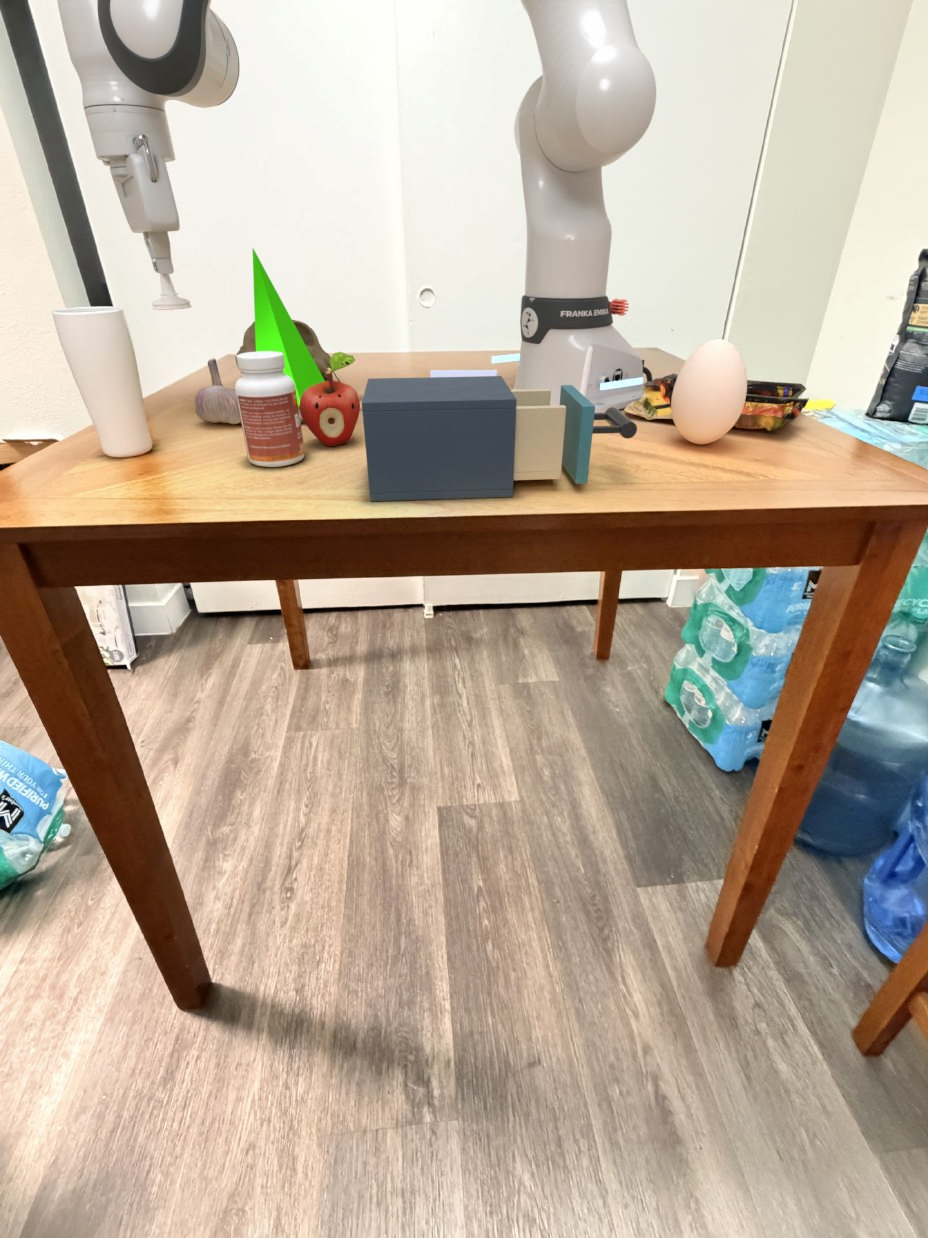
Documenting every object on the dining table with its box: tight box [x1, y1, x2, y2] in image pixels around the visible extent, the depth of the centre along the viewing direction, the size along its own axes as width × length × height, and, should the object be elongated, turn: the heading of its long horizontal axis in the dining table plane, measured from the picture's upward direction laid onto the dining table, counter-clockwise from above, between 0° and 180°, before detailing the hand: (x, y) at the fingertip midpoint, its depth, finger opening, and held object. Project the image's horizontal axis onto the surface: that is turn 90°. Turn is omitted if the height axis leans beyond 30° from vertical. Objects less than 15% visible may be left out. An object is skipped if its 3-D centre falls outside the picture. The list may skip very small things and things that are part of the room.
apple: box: [299, 351, 361, 447], centre depth 73 cm, size 8×7×10 cm
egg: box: [671, 338, 748, 445], centre depth 71 cm, size 8×8×11 cm
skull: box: [234, 319, 332, 381], centre depth 101 cm, size 17×18×14 cm
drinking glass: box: [51, 305, 153, 458], centre depth 69 cm, size 7×7×15 cm
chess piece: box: [148, 238, 192, 311], centre depth 82 cm, size 5×5×10 cm
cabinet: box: [361, 375, 517, 502], centre depth 62 cm, size 14×11×9 cm
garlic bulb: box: [194, 357, 241, 425], centre depth 81 cm, size 8×7×8 cm
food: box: [624, 373, 810, 432], centre depth 84 cm, size 22×19×4 cm
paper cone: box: [252, 248, 325, 423], centre depth 85 cm, size 11×5×25 cm
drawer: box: [510, 385, 638, 485], centre depth 62 cm, size 17×9×7 cm, turn 94°
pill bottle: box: [234, 351, 306, 468], centre depth 67 cm, size 6×6×11 cm
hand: (164, 273), depth 83 cm, fingers closed on chess piece
